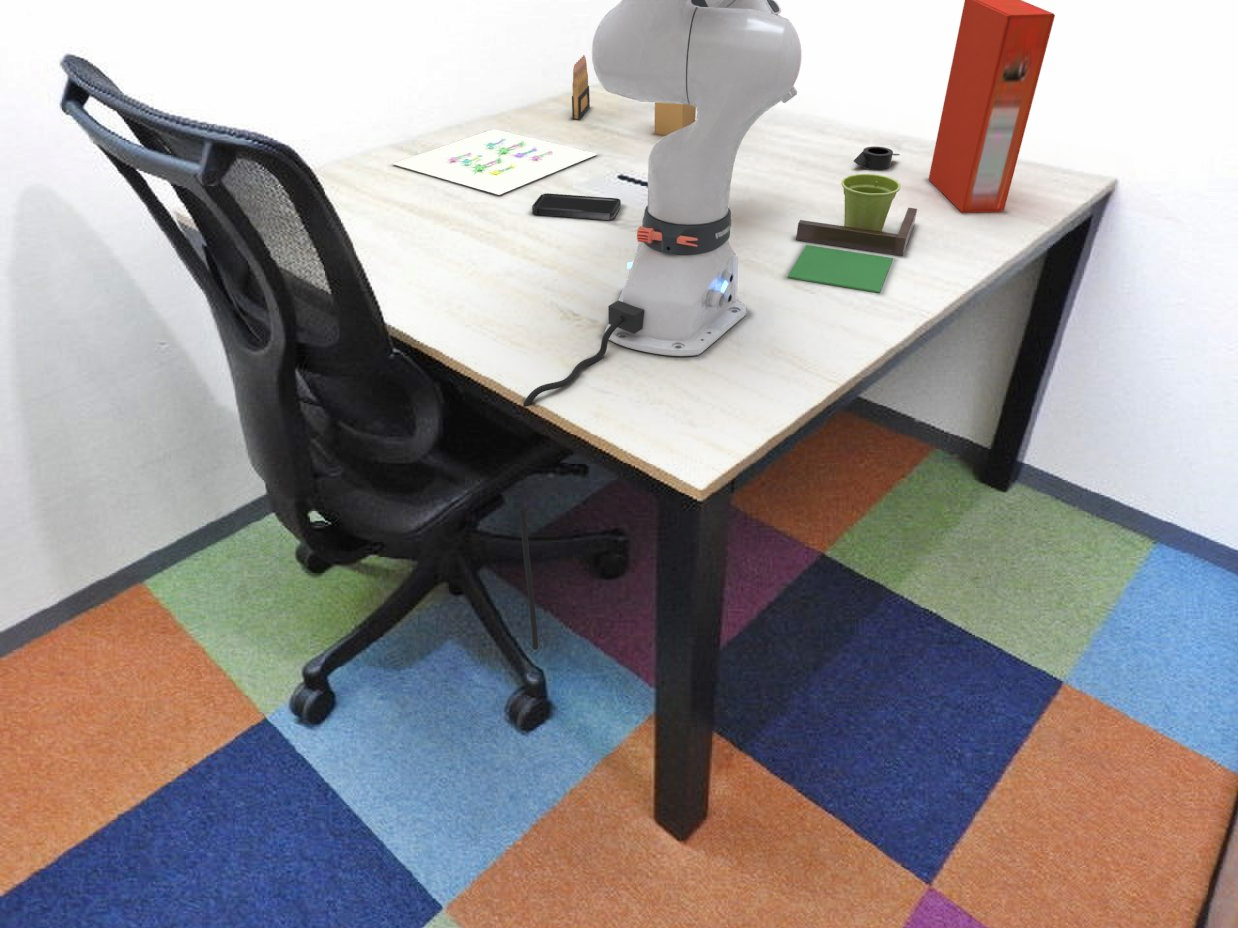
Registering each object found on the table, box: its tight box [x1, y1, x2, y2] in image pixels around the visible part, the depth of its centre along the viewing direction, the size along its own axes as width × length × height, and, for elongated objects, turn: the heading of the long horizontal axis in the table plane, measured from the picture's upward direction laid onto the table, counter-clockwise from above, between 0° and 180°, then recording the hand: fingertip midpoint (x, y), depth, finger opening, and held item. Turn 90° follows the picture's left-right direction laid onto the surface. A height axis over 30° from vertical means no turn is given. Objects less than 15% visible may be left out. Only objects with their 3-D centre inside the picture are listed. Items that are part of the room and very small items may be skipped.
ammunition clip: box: [571, 54, 591, 121], centre depth 203 cm, size 11×2×12 cm, turn 169°
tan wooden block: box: [653, 102, 697, 137], centre depth 181 cm, size 23×23×42 cm
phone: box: [531, 192, 622, 221], centre depth 156 cm, size 8×1×15 cm
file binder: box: [928, 0, 1056, 214], centre depth 152 cm, size 8×17×32 cm, turn 3°
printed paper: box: [392, 128, 598, 196], centre depth 178 cm, size 30×30×2 cm
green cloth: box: [787, 244, 893, 294], centre depth 136 cm, size 13×14×1 cm
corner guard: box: [795, 207, 918, 257], centre depth 147 cm, size 14×18×3 cm
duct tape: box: [853, 145, 901, 171], centre depth 175 cm, size 8×10×3 cm
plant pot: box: [841, 173, 901, 232], centre depth 145 cm, size 9×9×9 cm
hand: (791, 98), depth 140 cm, fingers closed
